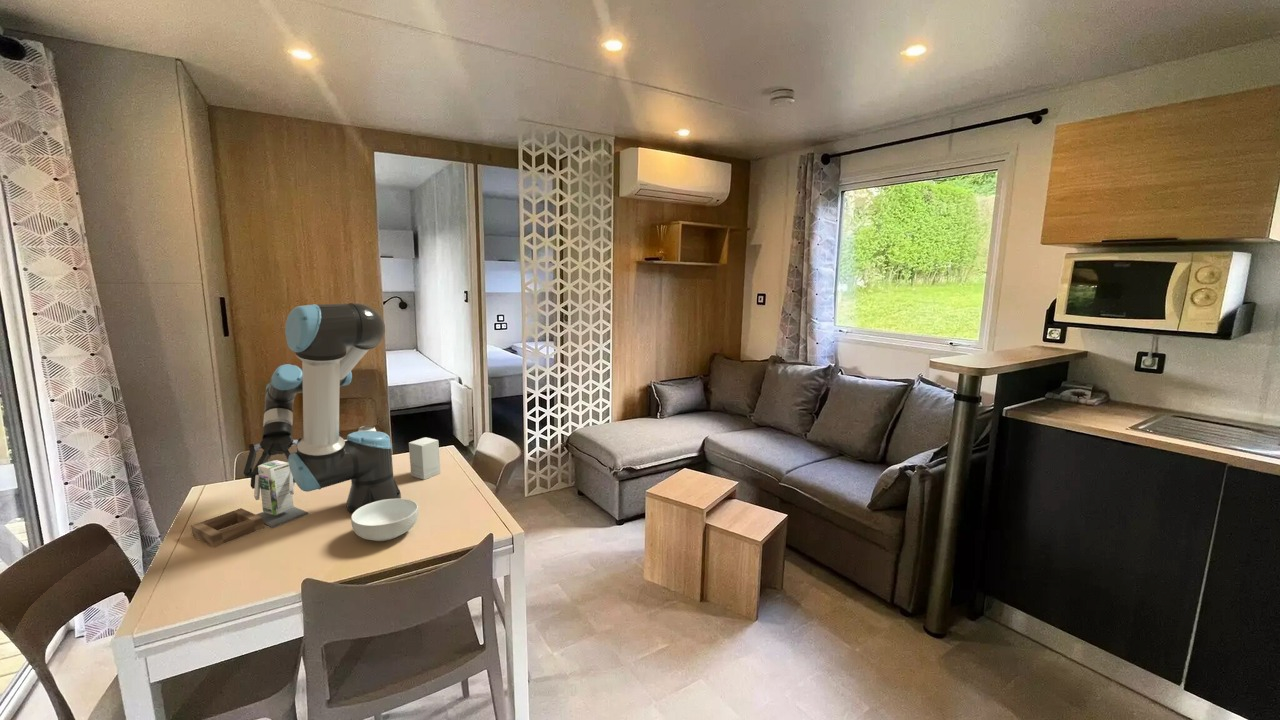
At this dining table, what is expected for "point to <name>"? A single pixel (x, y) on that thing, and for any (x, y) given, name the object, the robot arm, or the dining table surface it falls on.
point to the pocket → (210, 527)
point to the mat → (281, 517)
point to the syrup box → (275, 487)
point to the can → (367, 428)
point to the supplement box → (424, 458)
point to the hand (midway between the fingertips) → (274, 495)
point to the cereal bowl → (384, 519)
